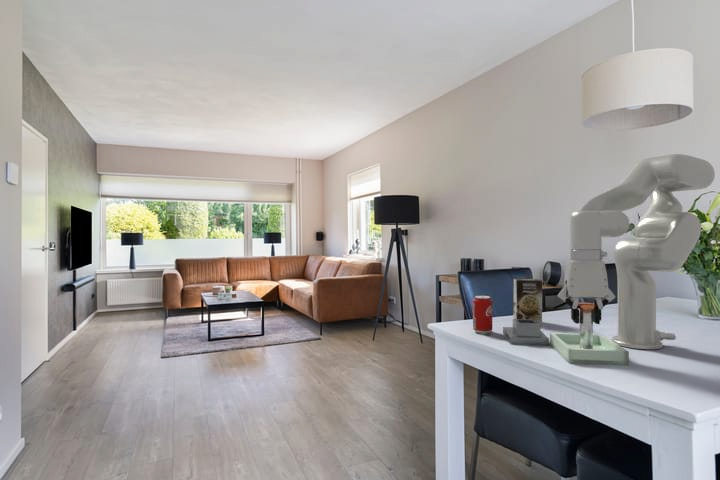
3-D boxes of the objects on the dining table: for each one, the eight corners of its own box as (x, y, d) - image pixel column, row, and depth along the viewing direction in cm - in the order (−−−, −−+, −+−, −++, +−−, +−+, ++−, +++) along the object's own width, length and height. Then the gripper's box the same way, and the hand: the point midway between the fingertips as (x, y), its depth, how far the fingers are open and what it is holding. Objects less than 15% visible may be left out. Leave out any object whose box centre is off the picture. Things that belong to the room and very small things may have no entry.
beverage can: (493, 334, 139) (493, 298, 139) (473, 333, 140) (473, 297, 140) (491, 330, 145) (491, 295, 145) (472, 329, 146) (472, 295, 146)
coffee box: (516, 324, 154) (516, 280, 154) (513, 320, 161) (512, 278, 161) (542, 324, 153) (542, 280, 153) (538, 321, 159) (538, 278, 159)
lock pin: (592, 346, 117) (591, 302, 117) (598, 350, 113) (597, 305, 112) (575, 345, 118) (574, 302, 118) (580, 350, 113) (580, 304, 113)
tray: (601, 346, 123) (601, 334, 123) (628, 365, 105) (628, 351, 105) (550, 344, 125) (550, 333, 125) (568, 363, 108) (568, 349, 108)
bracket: (537, 334, 139) (537, 315, 139) (548, 345, 125) (548, 324, 125) (503, 332, 141) (502, 315, 141) (510, 343, 127) (509, 323, 127)
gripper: (613, 255, 117) (614, 320, 117) (549, 255, 120) (549, 319, 120) (625, 256, 110) (626, 326, 110) (556, 257, 113) (557, 325, 113)
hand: (586, 322), depth 115 cm, fingers open, 4 cm apart
